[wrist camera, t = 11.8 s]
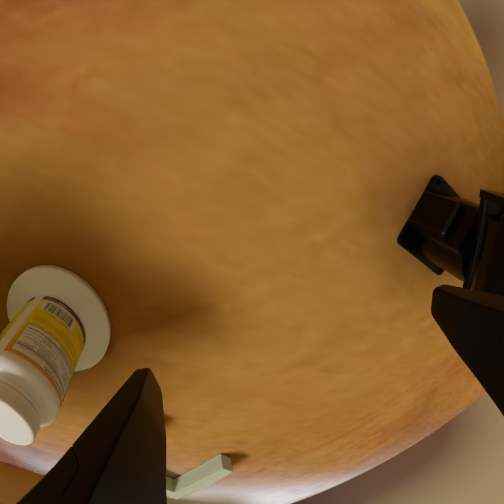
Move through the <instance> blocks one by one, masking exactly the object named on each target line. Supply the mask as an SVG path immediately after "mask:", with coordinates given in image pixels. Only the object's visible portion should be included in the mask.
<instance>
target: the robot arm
mask: <svg viewBox="0 0 504 504" xmlns="http://www.w3.org/2000/svg"><path fill="white" fill-rule="evenodd" d="M436 180H437V184H436ZM480 198H481V199H480V205H479V204H476V203H473V202H470V201H467V200H464V199H461V198H460V197H459V196H458V195H457V194H456V193H455V192H454V191H453V189H452V188H451V187H450V186H449V185H448V184H447V183H446V182H445V181H444V180H443V178H442V177H441V176H438V175H434V176H433V177H432V178H431V180H430V182H429V184H428V185H427V187H426V189H425V191H424V193H423V194H422V196H421V198H420V200H419V202H418V203H417V205H416V207H415V209H414V210H413V212H412V214H411V216H410V217H409V219H408V221H407V222H406V224H405V226H404V227H403V229H402V231H401V232H400V234H399V236H398V238H397V242H398V244H399V245H400V246H402V247H403V248H404V249H406V250H407V251H408V252H409V253H411V254H412V255H413V256H414V257H416V258H417V259H418V260H419V261H421V262H422V263H423V264H424V265H426V266H427V267H428V268H429V269H431V270H432V271H433V272H434V273H436V274H437V275H441V274H442V273H443V272H444V270H445V271H447V272H448V273H450V274H452V275H453V276H455V277H456V278H458V279H459V280H461V281H463V282H464V284H463V287H462V288H460V287H455V286H450V285H441V286H439V287H436V288H435V289H434V290H433V296H432V305H431V313H432V316H433V318H434V319H435V321H436V322H437V324H438V325H439V327H440V328H441V330H442V331H443V333H444V334H445V336H446V337H447V339H448V340H449V342H450V344H451V345H452V347H453V348H454V349H455V351H456V352H457V353H458V355H459V356H460V357H461V359H462V360H463V361H464V362H465V364H466V365H467V366H468V368H469V369H470V370H471V371H472V373H473V374H474V375H475V377H476V378H477V379H478V381H479V382H480V383H481V385H482V386H483V388H484V389H485V390H486V392H487V393H488V394H489V396H490V397H491V399H492V400H493V401H494V403H495V404H496V406H497V407H498V408H499V410H500V411H501V413H502V414H503V416H504V193H499V192H494V191H488V190H482V189H480ZM403 238H405V239H404V241H403V242H402V240H403ZM439 268H440V269H439ZM72 446H73V447H70V448H69V450H68V451H67V452H66V453H65V454H64V456H63V457H62V458H61V459H60V460H59V461H58V462H57V464H56V465H55V466H54V467H53V468H52V469H51V470H50V471H49V472H48V473H47V474H46V475H45V476H44V477H43V478H42V479H41V480H40V481H39V482H38V483H37V484H36V485H35V486H34V487H33V488H32V489H31V490H30V491H29V492H28V493H27V494H26V495H25V496H24V497H23V498H22V499H21V500H20V501H18V502H17V503H16V504H167V495H166V431H165V422H164V412H163V401H162V392H161V389H160V387H159V385H158V383H157V381H156V379H155V377H154V375H153V372H152V371H151V369H149V368H144V369H138V370H136V371H135V372H134V373H133V374H132V375H131V376H130V378H129V379H128V380H127V381H126V382H125V383H124V385H123V386H122V387H121V388H120V389H119V390H118V392H117V393H116V394H115V395H114V396H113V397H112V399H111V400H110V401H109V402H108V403H107V405H106V406H105V407H104V408H103V409H102V410H101V412H100V413H99V414H98V415H97V416H96V418H95V419H94V420H93V421H92V422H91V424H90V425H89V426H88V427H87V428H86V429H85V431H84V432H83V433H82V434H81V435H80V437H79V438H78V439H77V440H76V441H75V443H74V444H73V445H72Z"/></svg>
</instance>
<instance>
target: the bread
mask: <svg viewBox="0 0 504 504" xmlns="http://www.w3.org/2000/svg"><path fill="white" fill-rule="evenodd" d="M43 477H44V475H40V474H37V473H33V472H30V471H27V470H24V469H21V468H18V467H15V466H12V465H9V464H6V463H3V462H0V504H16V503H17V502H18V501H20V500H21V499H22V498H23V497H24V496H25V495H26V494H27V493H28V492H29V491H30V490H31V489H32V488H33V487H34V486H35V485H36V484H37V483H38V482H39V481H40V480H41V479H42V478H43Z"/></svg>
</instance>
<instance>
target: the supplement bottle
mask: <svg viewBox="0 0 504 504" xmlns="http://www.w3.org/2000/svg"><path fill="white" fill-rule="evenodd" d="M85 342H86V330H85V326H84V323H83V321H82V319H81V317H80V315H79V314H78V312H77V311H76V310H75V309H74V308H73V307H72V306H71V305H70V304H69V303H68V302H66V301H65V300H63V299H61V298H59V297H57V296H54V295H48V294H42V295H37V296H34V297H32V298H31V299H30V300H28V301H27V302H26V304H25V305H24V306H23V307H22V308H21V309H20V311H19V312H18V313H17V314H16V315H15V317H14V318H13V319H12V320H11V321H10V323H9V324H8V325H7V326H6V328H5V329H4V330H3V331H2V333H1V334H0V437H1V438H3V439H4V440H6V441H8V442H11V443H14V444H17V445H29V444H31V443H32V442H33V441H34V439H35V437H36V434H37V432H38V431H39V429H40V427H45V426H48V425H50V424H51V423H53V422H54V421H55V419H56V418H57V416H58V413H59V411H60V408H61V405H62V402H63V400H64V397H65V394H66V391H67V389H68V386H69V384H70V381H71V378H72V376H73V373H74V371H75V368H76V366H77V363H78V361H79V358H80V356H81V354H82V351H83V349H84V346H85Z"/></svg>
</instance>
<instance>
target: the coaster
mask: <svg viewBox="0 0 504 504" xmlns="http://www.w3.org/2000/svg"><path fill="white" fill-rule="evenodd" d="M42 294H48V295H54V296H57V297H59V298H61V299H63V300H65V301H66V302H68V303H69V304H70V305H71V306H72V307H73V308H74V309H75V310H76V311H77V312H78V314H79V315H80V317H81V319H82V321H83V323H84V326H85V330H86V342H85V346H84V349H83V351H82V354H81V356H80V358H79V361H78V363H77V366H76V368H75V371H82V370H86V369H88V368H91V367H93V366H94V365H96V364H97V363H98V362H99V361H100V360H101V359H102V358H103V356H104V355H105V353H106V350H107V348H108V345H109V342H110V337H111V323H110V318H109V315H108V312H107V309H106V307H105V305H104V303H103V301H102V300H101V298H100V297H99V295H98V294H97V292H96V291H95V290H94V289H93V288H92V287H91V286H90V285H89V284H88V283H87V282H86V281H85V280H84V279H82V278H81V277H80V276H78V275H77V274H75V273H73V272H71V271H69V270H67V269H65V268H62V267H59V266H54V265H38V266H35V267H32V268H30V269H28V270H26V271H25V272H23V273H22V274H21V275H20V276H19V277H18V278H17V279H16V280H15V281H14V283H13V284H12V286H11V288H10V290H9V293H8V297H7V313H8V318H9V322H10V321H11V320H12V319H13V318H14V317H15V315H16V314H17V313H18V312H19V311H20V309H21V308H22V307H23V306H24V305H25V304H26V302H27V301H28V300H30V299H31V298H32V297H34V296H37V295H42Z"/></svg>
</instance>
